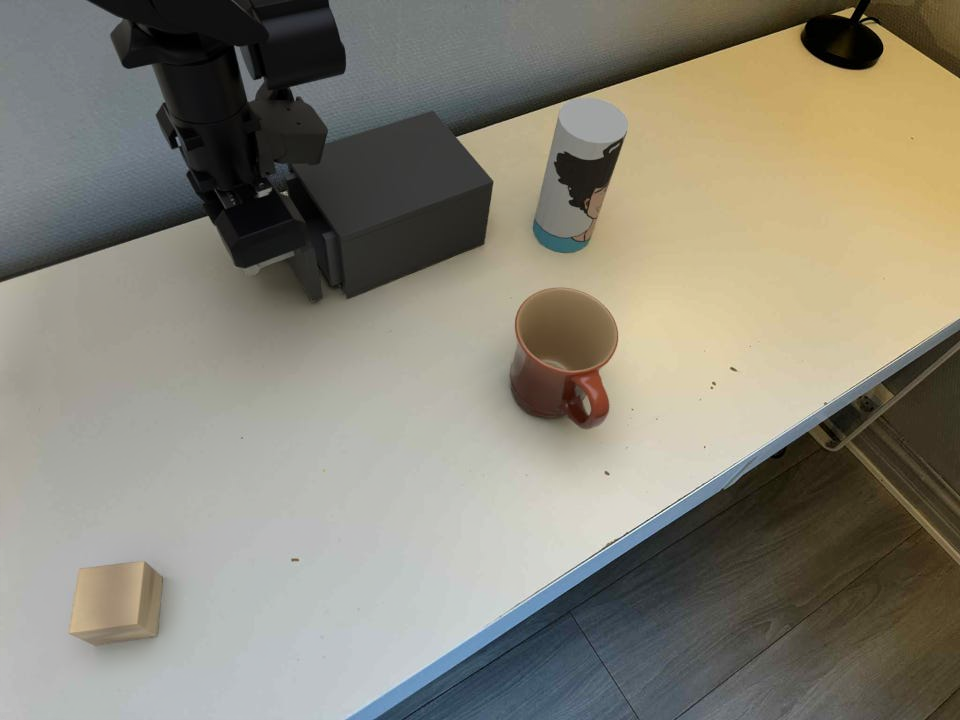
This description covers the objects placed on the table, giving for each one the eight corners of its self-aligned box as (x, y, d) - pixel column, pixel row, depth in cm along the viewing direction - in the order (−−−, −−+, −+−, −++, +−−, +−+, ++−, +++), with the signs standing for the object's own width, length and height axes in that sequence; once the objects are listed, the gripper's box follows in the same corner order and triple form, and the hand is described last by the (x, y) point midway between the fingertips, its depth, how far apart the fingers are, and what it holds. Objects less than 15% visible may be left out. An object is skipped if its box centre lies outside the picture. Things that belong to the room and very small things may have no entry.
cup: (584, 259, 73) (621, 150, 61) (526, 242, 74) (551, 131, 61) (596, 218, 77) (633, 108, 64) (540, 203, 78) (566, 90, 65)
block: (93, 645, 48) (67, 633, 45) (102, 584, 51) (78, 568, 47) (157, 636, 49) (137, 624, 45) (163, 576, 51) (144, 560, 48)
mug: (486, 365, 65) (498, 300, 56) (566, 342, 67) (589, 277, 58) (536, 473, 59) (559, 420, 50) (621, 444, 61) (656, 388, 53)
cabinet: (347, 299, 67) (340, 237, 60) (298, 221, 72) (285, 155, 65) (484, 244, 73) (494, 181, 66) (430, 175, 78) (433, 110, 71)
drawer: (264, 321, 64) (249, 272, 58) (223, 245, 68) (205, 192, 62) (446, 249, 71) (450, 198, 65) (398, 185, 76) (398, 132, 70)
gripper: (361, 142, 48) (372, 279, 61) (261, 10, 56) (290, 156, 69) (210, 191, 44) (257, 325, 58) (126, 42, 52) (184, 190, 65)
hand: (250, 242), depth 63 cm, fingers closed, pressing on drawer
